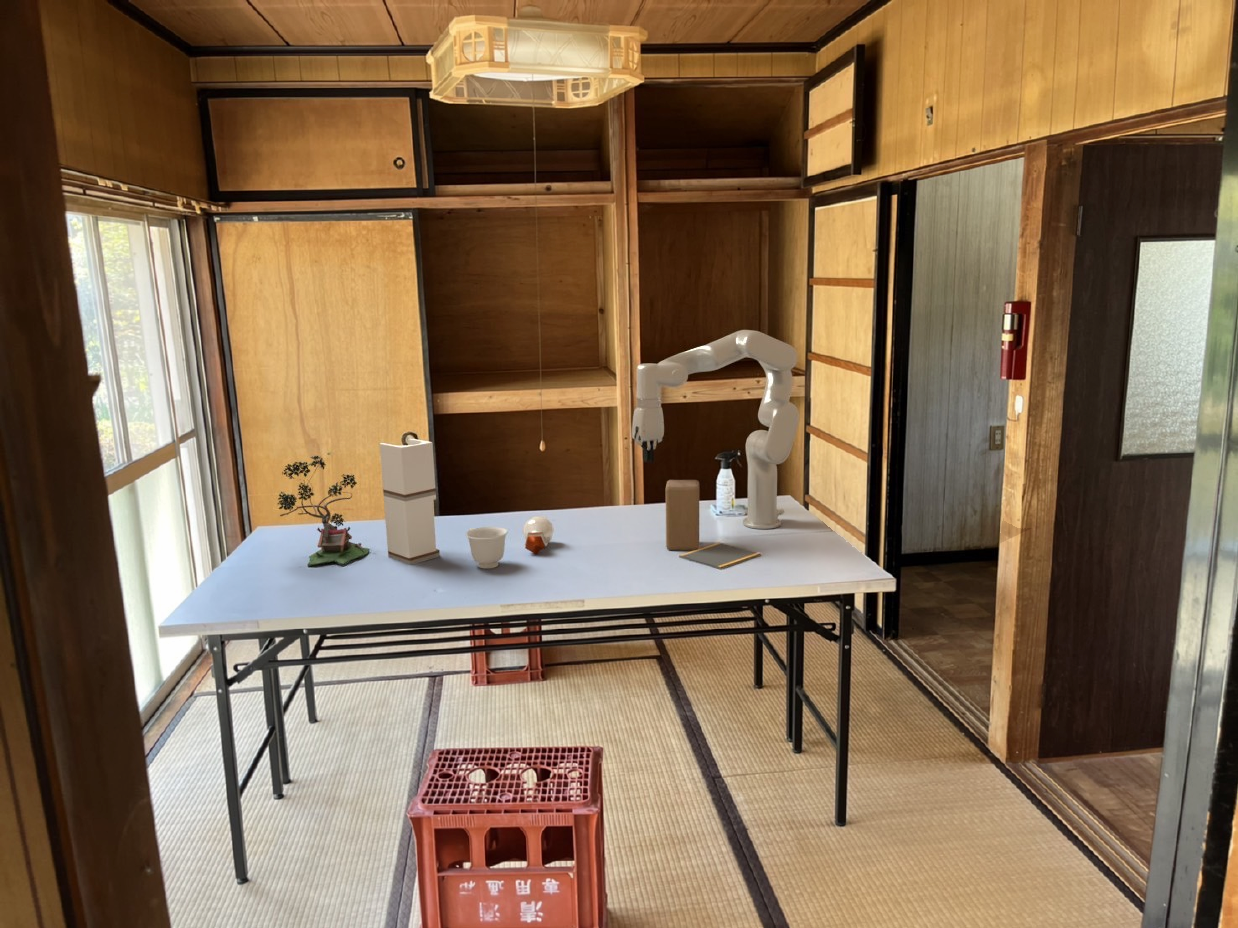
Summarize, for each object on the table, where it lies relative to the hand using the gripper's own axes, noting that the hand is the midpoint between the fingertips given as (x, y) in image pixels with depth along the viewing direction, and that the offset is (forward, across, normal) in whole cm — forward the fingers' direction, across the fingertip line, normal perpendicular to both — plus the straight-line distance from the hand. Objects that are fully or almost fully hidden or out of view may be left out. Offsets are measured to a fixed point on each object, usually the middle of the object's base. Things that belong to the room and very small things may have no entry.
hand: (648, 461), depth 271 cm
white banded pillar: (+26, +63, -37) cm, 78 cm away
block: (+25, -1, +14) cm, 29 cm away
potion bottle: (+26, +31, -17) cm, 44 cm away
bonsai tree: (+26, +85, -53) cm, 104 cm away
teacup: (+26, +52, -15) cm, 60 cm away
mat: (+24, -1, +29) cm, 38 cm away
